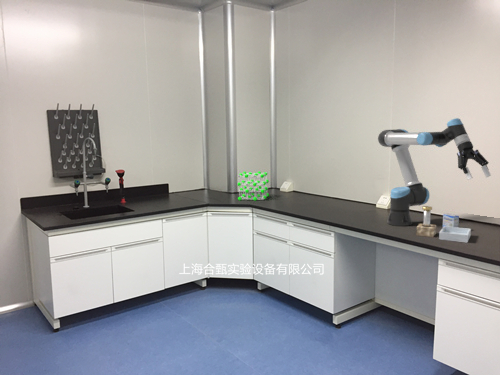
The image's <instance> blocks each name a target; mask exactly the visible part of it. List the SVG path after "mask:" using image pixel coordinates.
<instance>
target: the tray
mask: <svg viewBox="0 0 500 375" xmlns="http://www.w3.org/2000/svg"><path fill="white" fill-rule="evenodd" d="M471 232H472V228H468V227H467V228H466V227H459V226H458V227H448V226H444V227H443V226H442V228H441V229H440V230H439V232H438V239H439V240H442V241H449V242H460V243H468V242H469V240H470V238H471V235H472V233H471Z"/></svg>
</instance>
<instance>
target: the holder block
mask: <svg viewBox="0 0 500 375" xmlns="http://www.w3.org/2000/svg"><path fill="white" fill-rule="evenodd" d="M436 234H437V225H436V224H430V227H423V223H418V225H417V226H416V236H420V237H421V236H422V237H430V238H434V237H435V236H436Z"/></svg>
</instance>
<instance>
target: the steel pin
mask: <svg viewBox="0 0 500 375" xmlns="http://www.w3.org/2000/svg"><path fill="white" fill-rule="evenodd" d="M421 207H422V208H421V209H422V210H423V221H422V222H423V223H422V224H423V227H430V225H431V210H433V206H429V205H423V206H421Z"/></svg>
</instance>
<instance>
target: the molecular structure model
mask: <svg viewBox="0 0 500 375" xmlns="http://www.w3.org/2000/svg"><path fill="white" fill-rule="evenodd" d="M237 177H238V178H242V180H238V182H237V186H238V188H239V189H238V193H239V195H240V196H239V197H237V200H238V201H242V200H243V199H246V200H253V201H257V200H258V199H261V200H262V201H264V200H266V199H267V197H270V193H269V192H268V190H269V187H268V186H267V184H268V183H270V180H269V179H268V172H267V171H266V172H261V171H257V172H252V171H251V172H247V171H243V172H240V173H239V174H238V175H237ZM252 178H253V179H252ZM260 178H261V179H260ZM255 194H256V195H255Z"/></svg>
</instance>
